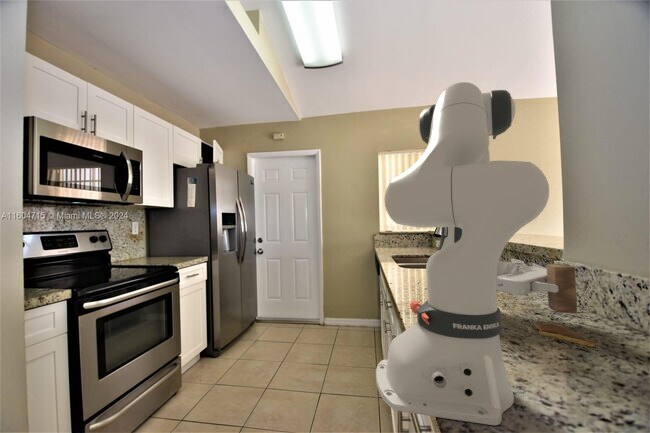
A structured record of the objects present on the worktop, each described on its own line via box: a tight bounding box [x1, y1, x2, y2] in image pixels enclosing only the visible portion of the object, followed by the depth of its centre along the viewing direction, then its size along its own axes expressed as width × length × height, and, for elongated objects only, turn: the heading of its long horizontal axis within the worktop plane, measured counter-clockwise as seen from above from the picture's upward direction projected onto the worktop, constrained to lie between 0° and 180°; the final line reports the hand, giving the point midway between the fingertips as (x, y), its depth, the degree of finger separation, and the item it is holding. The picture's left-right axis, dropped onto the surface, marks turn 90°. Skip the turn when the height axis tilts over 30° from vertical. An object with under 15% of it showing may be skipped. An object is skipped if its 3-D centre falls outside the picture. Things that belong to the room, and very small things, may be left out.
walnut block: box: [546, 263, 578, 314], centre depth 66 cm, size 4×4×11 cm
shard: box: [533, 322, 597, 348], centre depth 64 cm, size 11×8×2 cm
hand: (565, 286), depth 65 cm, fingers closed on walnut block, 6 cm apart
